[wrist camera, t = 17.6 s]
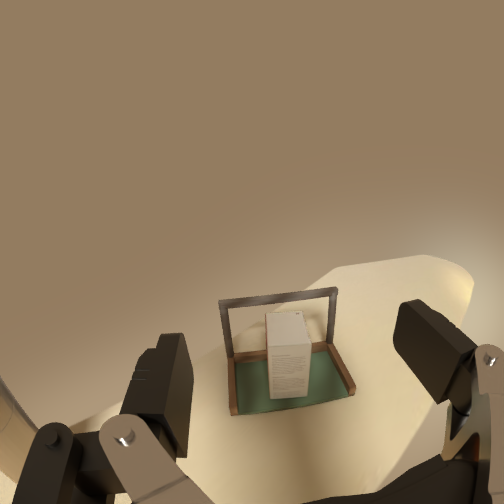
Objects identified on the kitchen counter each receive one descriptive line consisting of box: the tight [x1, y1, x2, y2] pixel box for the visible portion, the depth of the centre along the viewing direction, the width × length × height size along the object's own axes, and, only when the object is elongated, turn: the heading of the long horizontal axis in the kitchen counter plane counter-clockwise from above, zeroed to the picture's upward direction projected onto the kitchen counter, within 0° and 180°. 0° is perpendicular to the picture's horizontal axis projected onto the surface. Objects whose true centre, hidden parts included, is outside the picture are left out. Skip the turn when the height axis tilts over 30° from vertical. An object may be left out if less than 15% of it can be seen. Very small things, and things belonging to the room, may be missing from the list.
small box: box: [265, 311, 312, 399], centre depth 37 cm, size 8×6×10 cm
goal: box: [218, 287, 356, 416], centre depth 38 cm, size 18×12×12 cm, turn 95°
